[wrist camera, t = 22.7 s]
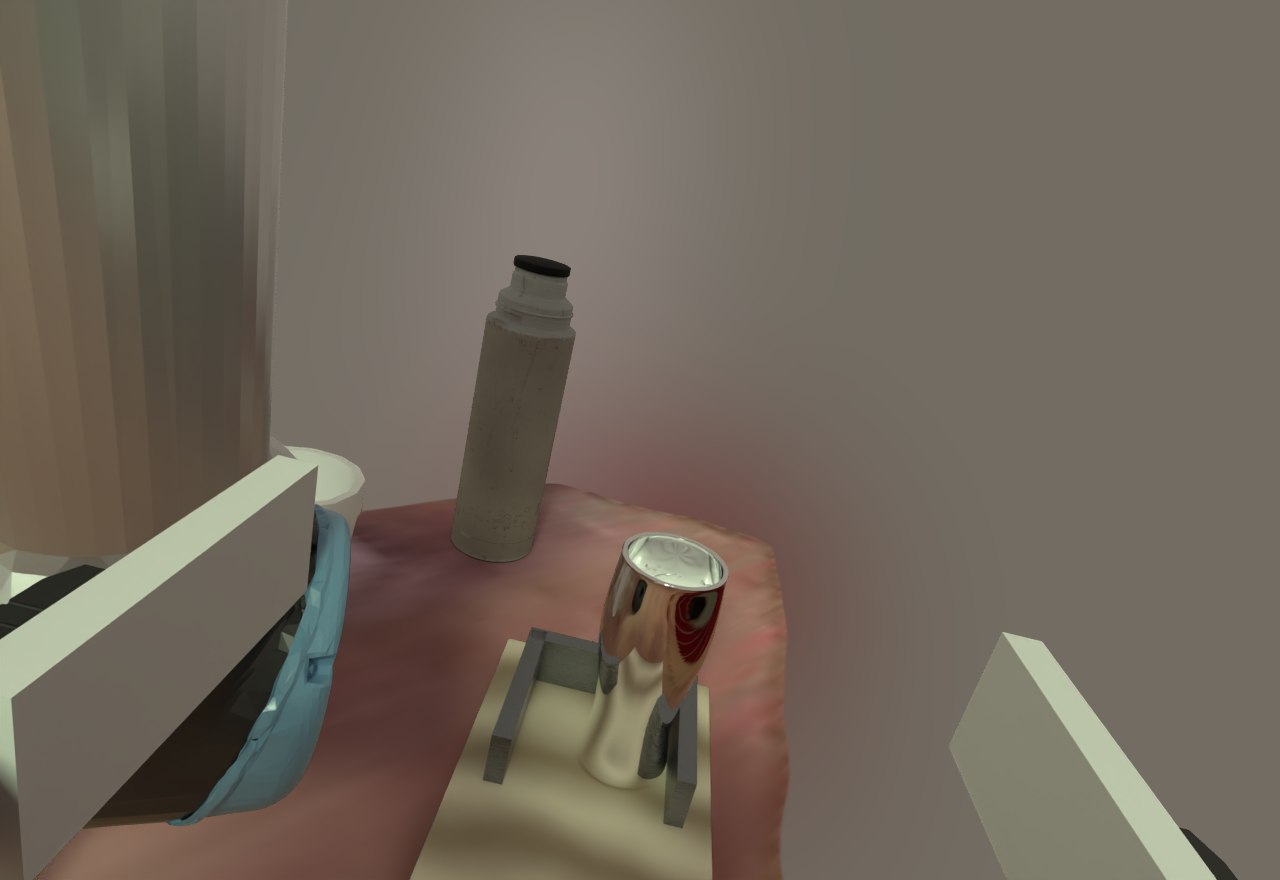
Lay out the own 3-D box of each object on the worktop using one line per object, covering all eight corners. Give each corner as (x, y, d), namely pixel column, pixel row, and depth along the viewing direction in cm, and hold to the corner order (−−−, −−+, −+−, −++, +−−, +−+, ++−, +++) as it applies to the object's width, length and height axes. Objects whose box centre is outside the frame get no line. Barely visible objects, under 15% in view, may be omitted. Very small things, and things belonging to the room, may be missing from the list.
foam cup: (228, 692, 49) (237, 517, 45) (188, 615, 55) (191, 453, 51) (368, 652, 56) (388, 495, 51) (319, 586, 62) (333, 441, 57)
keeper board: (706, 1028, 37) (714, 1007, 36) (385, 951, 36) (389, 929, 36) (703, 702, 59) (708, 687, 59) (505, 654, 59) (508, 638, 59)
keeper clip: (682, 828, 45) (697, 784, 44) (482, 780, 45) (491, 734, 44) (685, 705, 56) (697, 667, 55) (523, 666, 56) (531, 626, 55)
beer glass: (558, 719, 52) (605, 527, 47) (651, 714, 54) (704, 532, 49) (584, 801, 46) (640, 591, 41) (687, 791, 48) (752, 592, 43)
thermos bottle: (495, 514, 80) (543, 250, 70) (548, 548, 76) (607, 273, 66) (433, 532, 74) (478, 245, 64) (488, 571, 69) (544, 270, 60)
